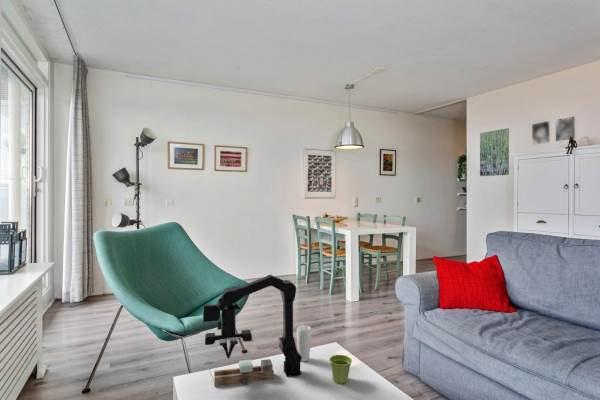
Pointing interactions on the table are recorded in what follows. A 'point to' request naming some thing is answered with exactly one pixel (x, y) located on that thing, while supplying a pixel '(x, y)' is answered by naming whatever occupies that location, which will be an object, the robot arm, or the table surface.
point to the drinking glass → (304, 341)
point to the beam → (244, 375)
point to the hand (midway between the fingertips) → (228, 357)
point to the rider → (245, 366)
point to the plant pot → (340, 368)
